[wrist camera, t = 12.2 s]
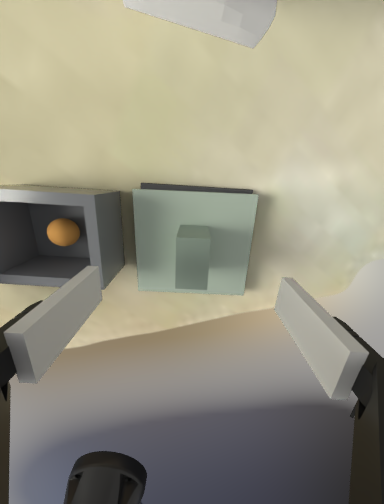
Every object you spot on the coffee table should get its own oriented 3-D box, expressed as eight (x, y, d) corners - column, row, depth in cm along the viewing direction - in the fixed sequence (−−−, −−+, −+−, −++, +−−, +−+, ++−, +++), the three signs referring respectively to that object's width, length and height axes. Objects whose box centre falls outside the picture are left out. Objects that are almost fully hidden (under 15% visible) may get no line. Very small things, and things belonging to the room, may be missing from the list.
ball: (86, 242, 23) (71, 250, 21) (61, 240, 23) (42, 249, 21) (83, 216, 22) (67, 222, 20) (56, 215, 22) (36, 220, 19)
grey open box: (124, 264, 25) (103, 289, 20) (37, 259, 25) (-9, 282, 19) (119, 190, 22) (93, 194, 16) (20, 184, 22) (-40, 186, 16)
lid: (241, 291, 25) (254, 322, 20) (140, 286, 26) (124, 316, 20) (255, 193, 21) (277, 199, 16) (135, 188, 21) (113, 191, 16)
